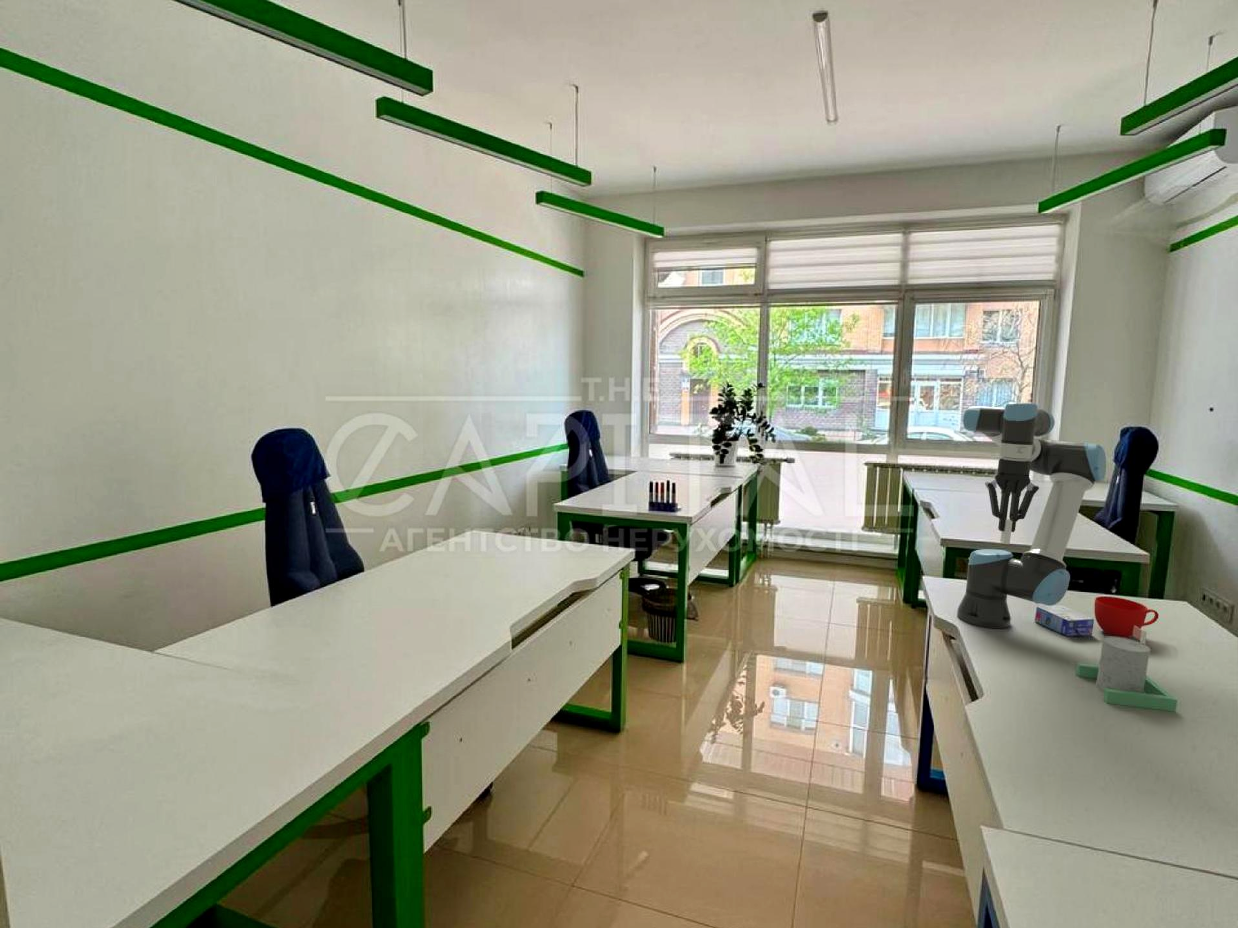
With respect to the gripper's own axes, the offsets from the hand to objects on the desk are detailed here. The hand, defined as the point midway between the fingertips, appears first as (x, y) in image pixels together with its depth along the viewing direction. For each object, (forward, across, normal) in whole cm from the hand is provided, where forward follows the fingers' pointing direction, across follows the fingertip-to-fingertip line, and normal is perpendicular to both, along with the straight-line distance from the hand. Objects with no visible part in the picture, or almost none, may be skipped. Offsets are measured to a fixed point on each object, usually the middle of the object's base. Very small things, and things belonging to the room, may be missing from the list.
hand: (1004, 542), depth 179 cm
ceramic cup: (+33, +46, +28) cm, 63 cm away
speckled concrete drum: (+33, +25, -15) cm, 44 cm away
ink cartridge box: (+30, +26, +33) cm, 52 cm away
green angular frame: (+32, +25, -14) cm, 43 cm away
